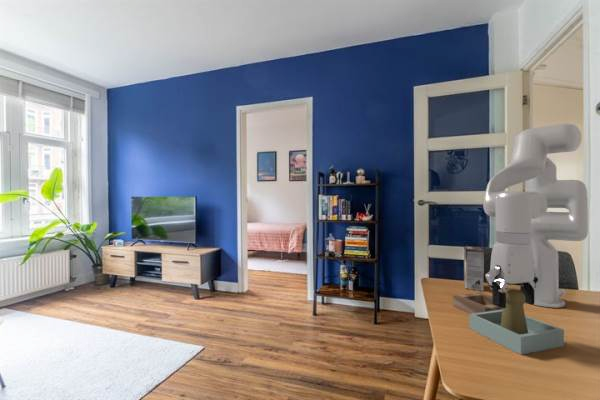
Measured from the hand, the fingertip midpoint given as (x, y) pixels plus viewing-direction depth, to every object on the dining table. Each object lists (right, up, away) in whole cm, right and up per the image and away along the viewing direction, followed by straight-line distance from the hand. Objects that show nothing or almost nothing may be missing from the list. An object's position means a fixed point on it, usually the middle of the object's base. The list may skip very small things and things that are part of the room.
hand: (513, 304), depth 74 cm
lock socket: (+3, -9, +18) cm, 20 cm away
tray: (0, -8, 0) cm, 8 cm away
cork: (0, -8, 0) cm, 8 cm away
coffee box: (+16, -9, +43) cm, 47 cm away
